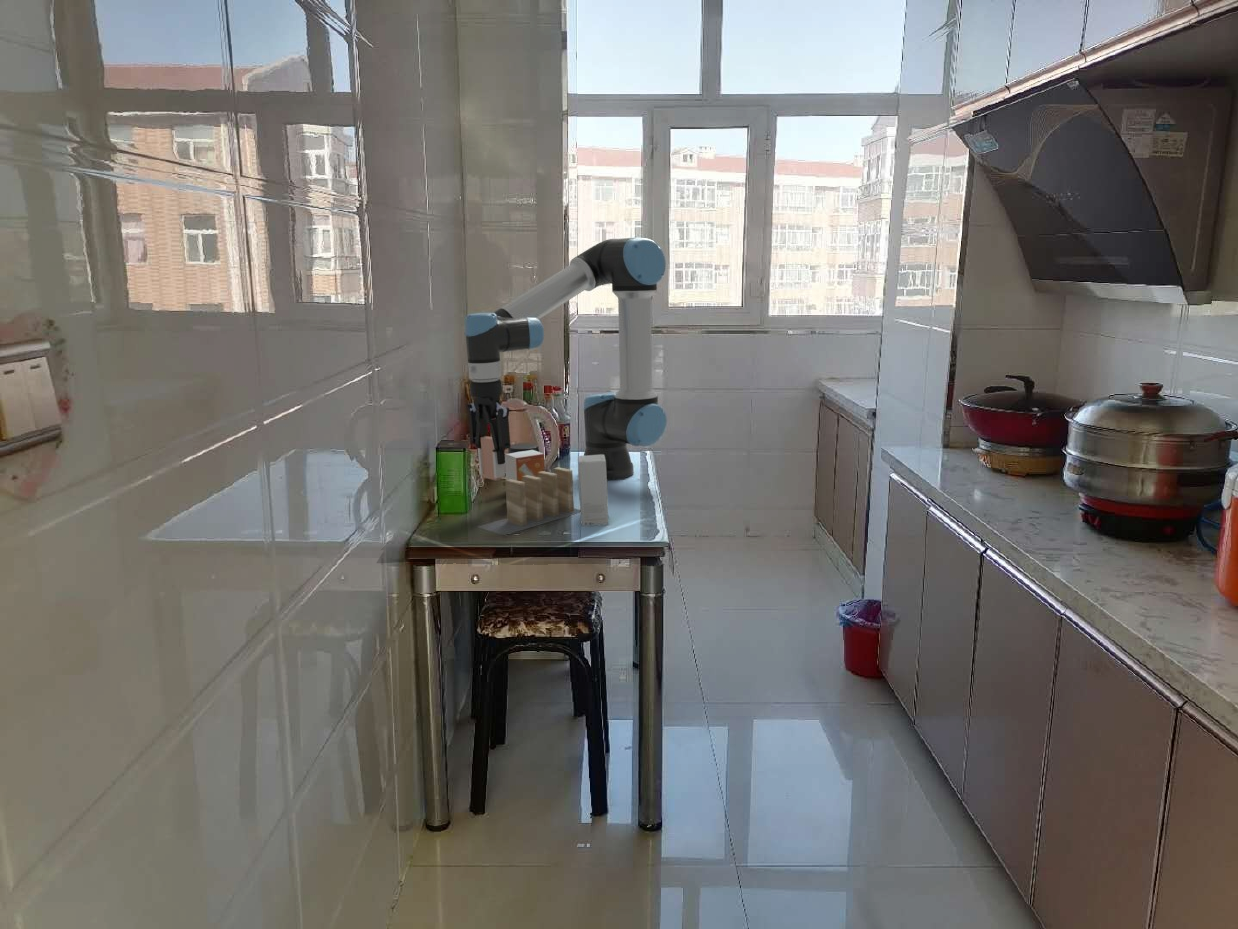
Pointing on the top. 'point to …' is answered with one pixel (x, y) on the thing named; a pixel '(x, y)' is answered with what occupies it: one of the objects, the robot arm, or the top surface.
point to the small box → (523, 464)
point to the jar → (523, 447)
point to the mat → (507, 527)
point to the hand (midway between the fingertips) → (492, 475)
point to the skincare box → (593, 490)
